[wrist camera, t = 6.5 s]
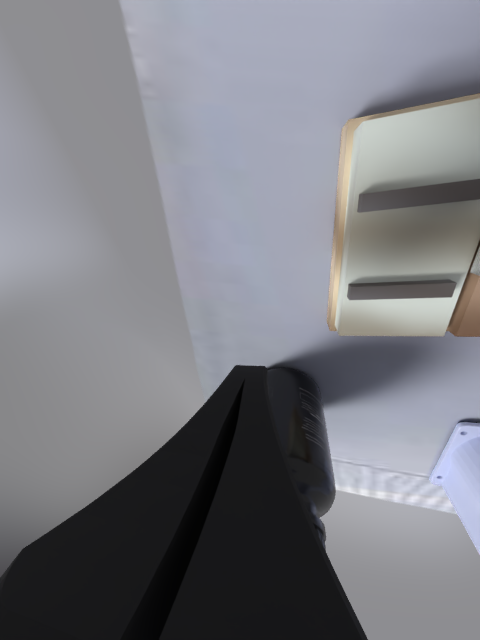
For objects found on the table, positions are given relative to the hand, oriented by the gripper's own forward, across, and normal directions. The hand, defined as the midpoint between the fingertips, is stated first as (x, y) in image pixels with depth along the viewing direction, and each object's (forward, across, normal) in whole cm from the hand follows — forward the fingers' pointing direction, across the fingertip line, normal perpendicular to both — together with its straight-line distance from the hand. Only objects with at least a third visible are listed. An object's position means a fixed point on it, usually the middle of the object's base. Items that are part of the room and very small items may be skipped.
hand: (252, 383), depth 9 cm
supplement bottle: (+10, -1, +10) cm, 14 cm away
